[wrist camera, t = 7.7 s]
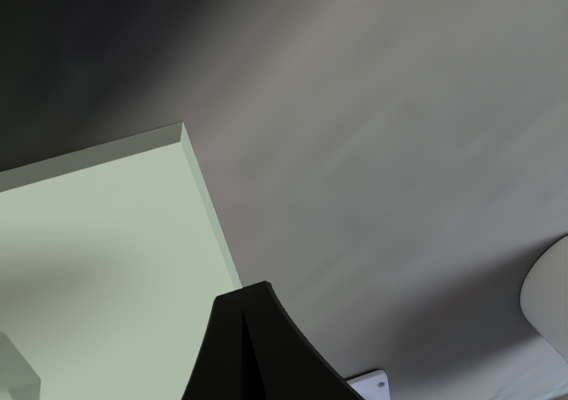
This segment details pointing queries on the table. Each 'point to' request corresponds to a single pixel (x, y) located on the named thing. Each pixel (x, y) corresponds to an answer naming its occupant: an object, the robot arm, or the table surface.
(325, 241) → the table surface
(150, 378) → the putting board
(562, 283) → the candle holder
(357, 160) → the table surface
